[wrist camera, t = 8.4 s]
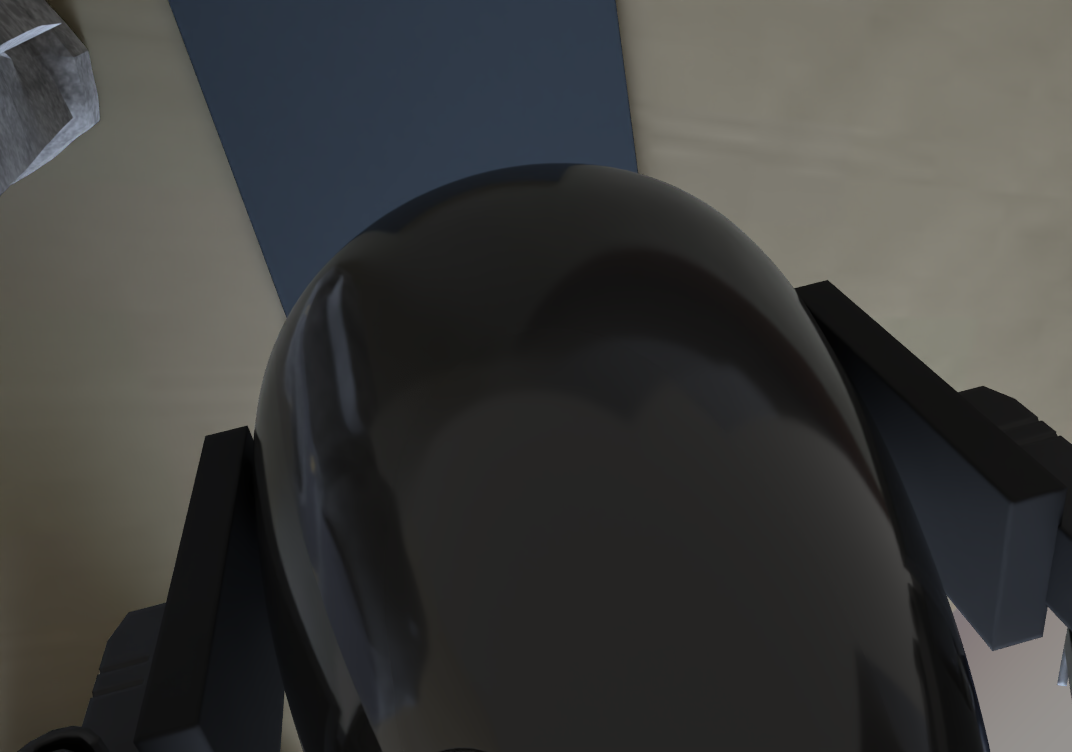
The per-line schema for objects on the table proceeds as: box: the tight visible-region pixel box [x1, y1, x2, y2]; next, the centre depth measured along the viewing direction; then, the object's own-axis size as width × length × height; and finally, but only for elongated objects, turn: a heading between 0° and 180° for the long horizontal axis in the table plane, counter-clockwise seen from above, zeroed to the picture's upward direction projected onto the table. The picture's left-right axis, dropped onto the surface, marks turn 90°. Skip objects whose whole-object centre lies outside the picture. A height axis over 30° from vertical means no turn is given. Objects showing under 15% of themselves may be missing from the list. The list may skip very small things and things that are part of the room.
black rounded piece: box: [253, 163, 990, 752], centre depth 13 cm, size 10×10×15 cm
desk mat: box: [168, 0, 638, 317], centre depth 32 cm, size 24×14×1 cm, turn 11°
